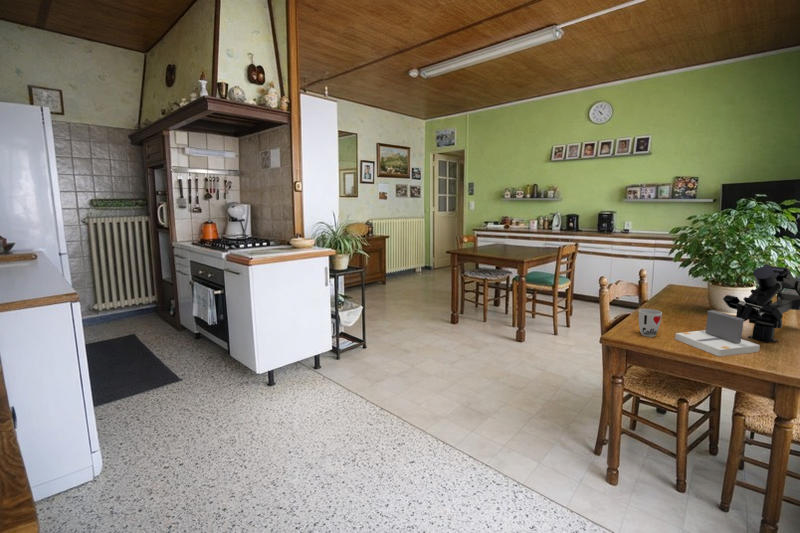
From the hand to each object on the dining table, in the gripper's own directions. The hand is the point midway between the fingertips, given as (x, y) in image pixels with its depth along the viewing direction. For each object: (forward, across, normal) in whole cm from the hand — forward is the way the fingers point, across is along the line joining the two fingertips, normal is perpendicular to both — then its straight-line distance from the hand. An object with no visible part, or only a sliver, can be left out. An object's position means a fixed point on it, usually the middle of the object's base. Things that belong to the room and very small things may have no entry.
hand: (736, 323), depth 154 cm
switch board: (+12, 0, +1) cm, 12 cm away
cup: (+23, +16, +12) cm, 30 cm away
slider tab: (+8, 0, +1) cm, 8 cm away
